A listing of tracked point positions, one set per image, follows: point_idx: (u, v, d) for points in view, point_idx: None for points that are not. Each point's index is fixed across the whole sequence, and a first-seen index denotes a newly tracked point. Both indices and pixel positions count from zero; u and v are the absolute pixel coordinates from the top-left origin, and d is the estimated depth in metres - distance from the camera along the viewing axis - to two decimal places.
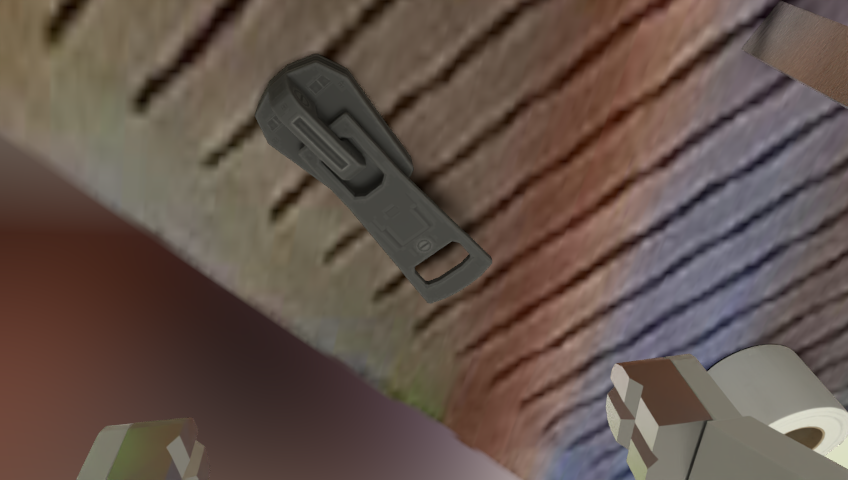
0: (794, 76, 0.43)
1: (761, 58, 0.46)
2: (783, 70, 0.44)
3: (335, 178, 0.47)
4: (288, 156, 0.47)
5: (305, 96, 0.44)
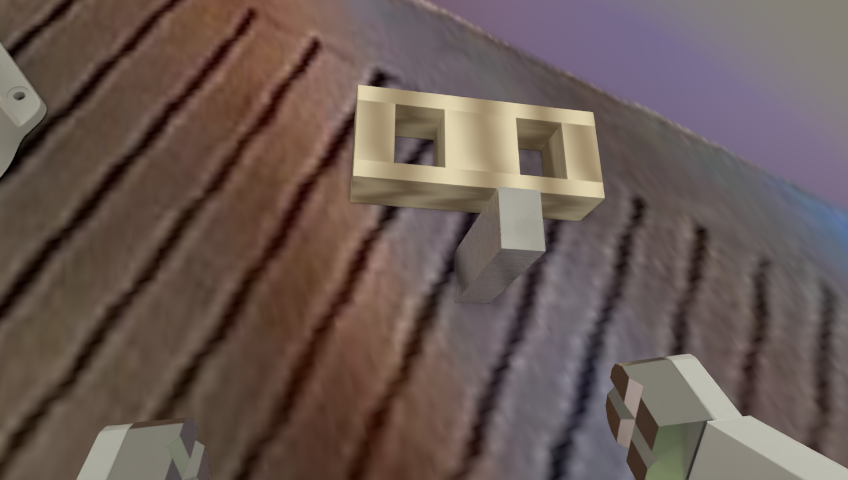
0: (477, 275, 0.41)
1: (462, 291, 0.45)
2: (472, 281, 0.42)
3: None
4: None
5: None
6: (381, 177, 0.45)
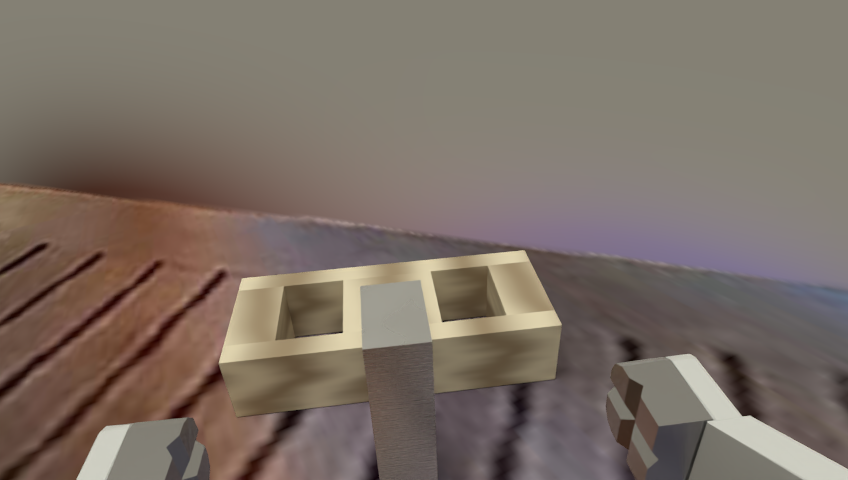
0: (374, 438, 0.26)
1: None
2: None
3: None
4: None
5: None
6: (256, 359, 0.34)
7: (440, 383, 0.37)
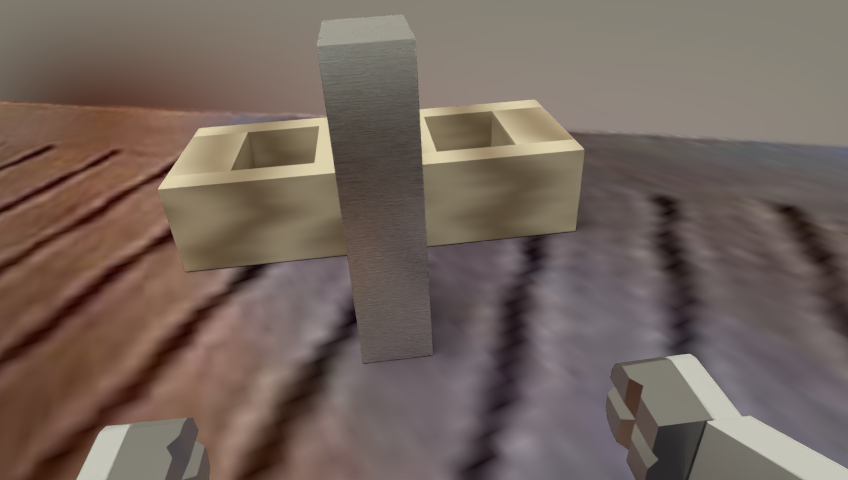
0: (342, 217, 0.20)
1: (355, 310, 0.22)
2: (346, 248, 0.20)
3: None
4: None
5: None
6: (204, 184, 0.27)
7: (436, 231, 0.30)
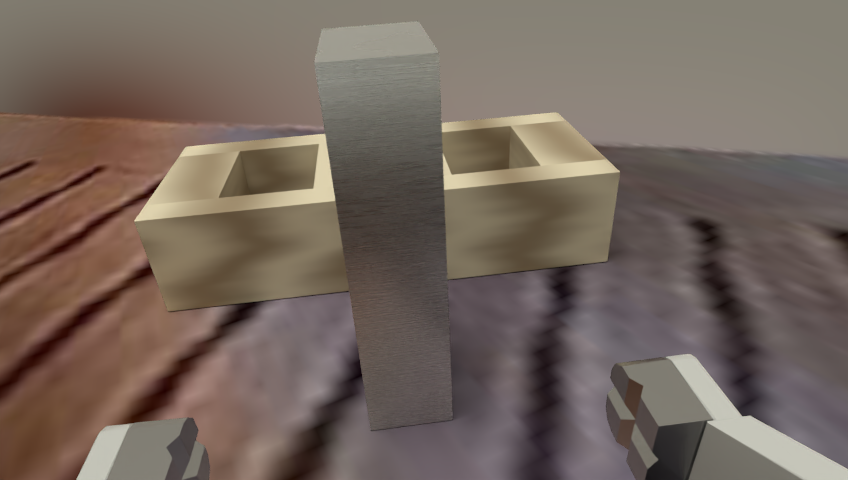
0: (346, 267, 0.16)
1: None
2: None
3: None
4: None
5: None
6: (187, 215, 0.24)
7: (451, 264, 0.27)
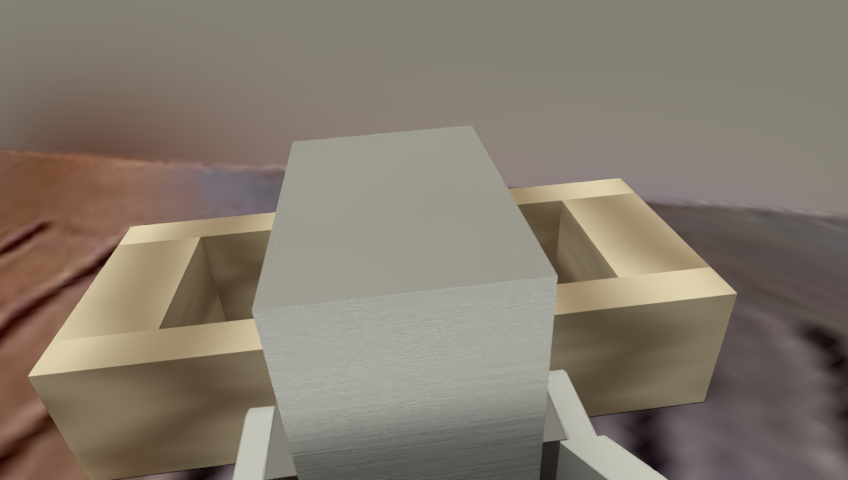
0: None
1: None
2: None
3: None
4: None
5: None
6: (108, 366, 0.16)
7: None
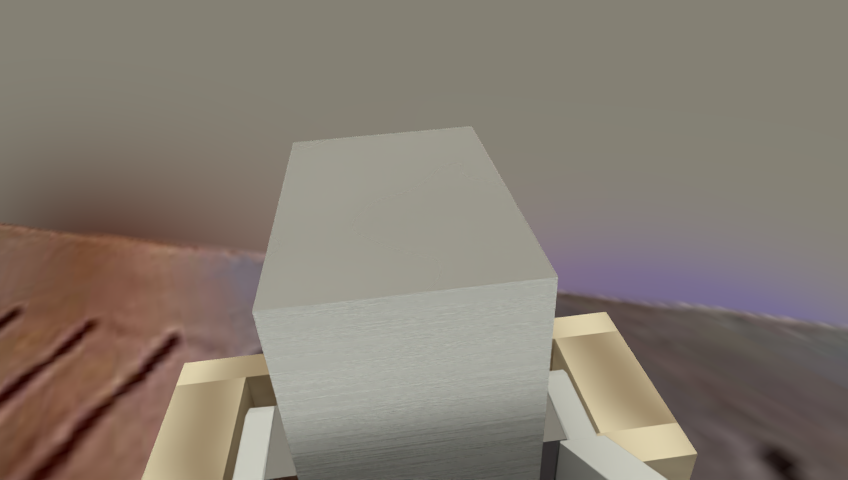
0: None
1: None
2: None
3: None
4: None
5: None
6: None
7: None
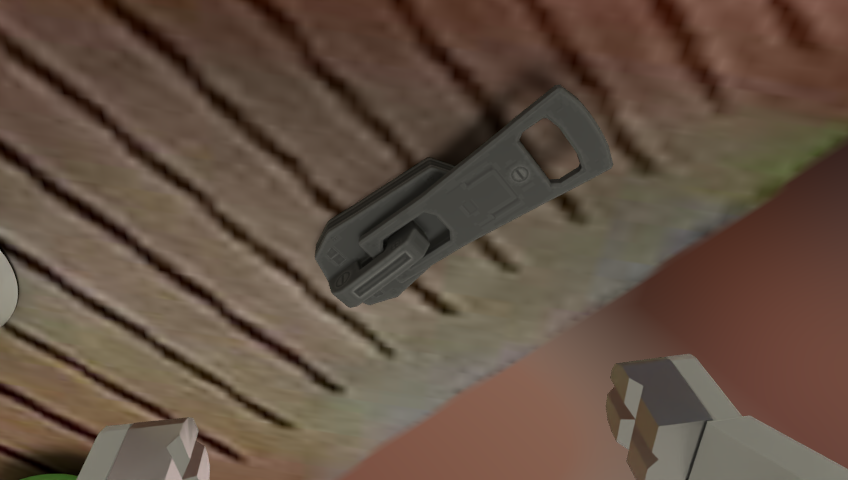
0: None
1: None
2: None
3: (428, 255, 0.45)
4: (410, 282, 0.48)
5: (345, 270, 0.46)
6: None
7: None
